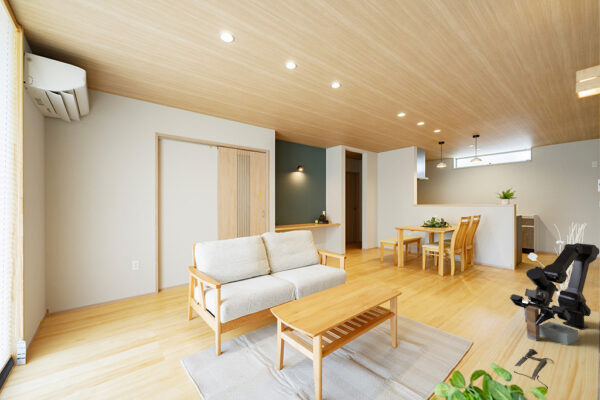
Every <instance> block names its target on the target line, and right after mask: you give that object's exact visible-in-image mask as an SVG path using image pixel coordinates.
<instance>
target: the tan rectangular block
mask: <svg viewBox="0 0 600 400" xmlns="http://www.w3.org/2000/svg"><path fill="white" fill-rule="evenodd" d="M539 314H540V309H539V308H536V307H532V306H528V307H526V319H527V322H526V333H527V334H526V335H527V336H526V337H527V338H528V339H531V340H533V341H535V342H537V341H539V340H541V335H540V327H539V325H540V324H539V325H538V326H536V325H535V322H536V320H537V318H538V316H539Z"/></svg>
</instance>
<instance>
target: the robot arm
mask: <svg viewBox="0 0 600 400" xmlns="http://www.w3.org/2000/svg"><path fill="white" fill-rule="evenodd" d="M599 255H600V249H599V247H597V246H596V245H595V244H589V243H580V242H575V243H574V244H573V243H565V244H564V246H563V249H562V251H560V253H559V255H558V256H557V257H556V259H555V260H554V261H553V262H552V263H550V264H547V265H545V266H544V267H543V268H542V267H541V266H535V267H534V268H533V267H532V268H530V269H528V270H527V271H526V277H527V278H528V279H529V281H531V282H532V284H534V286H535V289H531V288H526V289H525V292H524V296H525V297H527V299H525V298H524V296H523V295H518V294H515V293H514V294H511V295H510V297H509V299H510V300H511V301H512V303H513V304H514V306H515V307H519V308H522V309H523V310H524V319H525V323H527V319H526V307H528V306H532V307H536V308H539V316H538V318H537V320H536V322H535V325H536V326H538V325H542V324H544V322H546V321H549V320H551V319H553V320H554V319H555V315H556V316H557V318H558V319H559V320H562V321H563V322H562V325H563V324H564V325H565V326H566V325H567V326H570V327H571V328H572V327H573V328H574V329H579V330H584V329H586V328H589V325H588V324H585V323H586V322H585V317H590V315H591V314H592V310H591V308H590V307H589V306H588V305H587V304H586V303H587V300H586V297H585V296H584V294H583V293H584V288H585V283H586V280H587V277H588V276H587V275H588V271H589V267H590V264H591V263H593V262H594V261H595V260H597V258H598V256H599ZM572 263H573V264H572ZM571 265H572V269H571V272H570V275H569V281H568V284H567V287H566V288H565V289H564V290H563V289H561V290H559V289H558V287H557V285H556V284H561V285H562V284H564V283H565V282H566V280H567V278H568V274H567V271H568V269H569V268H570V266H571ZM555 292H559V295H558V298H557V303H558V305H555V304H553V305H551V303H553V302H554V300H553V297H554V296H555ZM550 305H551V307H550Z"/></svg>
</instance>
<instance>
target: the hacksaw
mask: <svg viewBox="0 0 600 400" xmlns="http://www.w3.org/2000/svg"><path fill="white" fill-rule="evenodd" d="M537 353H538V352H537V350H536V349H534V348H529V349H528V352H526V353H525V355H524V356H522V357H521V358H520V359H519V360H518V361H517V362H516V363H515V365H514V367H520V366H522V364H523V363H524V362H525V361H526V360H527V359H528V358H529V359H532V360H534V361H539V362H538V364H537V365H536V367H535V369H534V370H533V373H532V376H529V375H527V374H524V373H520V372H517V371H515V370H513V371H512V372H513V373H514V374H517V375H521V376H525V377H527V378H529V379H531V380H532V381H535V380H537V381H538V382H539V383H541V384H542V385H544V386H545V387H546V388H547V389H546V390H549V387H548V386H547V385H546V384H545V383H543V382H541V381H540V380H539V377H540V375H538V374H539V373H540V371H541V370H542V368H543V367H545V364H546V363H547V360H550V364H551V363H553V362H554V361H553V359H551V358H548V357H542V358H540V357H535V356H533V355H536V354H537ZM532 354H533V355H532ZM526 357H528V358H526ZM535 388H537V386H535Z"/></svg>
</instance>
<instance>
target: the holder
mask: <svg viewBox="0 0 600 400" xmlns="http://www.w3.org/2000/svg"><path fill="white" fill-rule="evenodd" d="M539 327H540V337H541V336H542V337H544V338H547V339H550V340H552V341H555V342H557V343H560V344H564V345H566V346H569V345H572V344H573V343H575V342H577V341H579V330H578V329H576V328H572V327H568V326H566V325H563V324H560V323H559V324H558V323H557V322H556V323H555V322H554V321H548V322H545V323H541V324H539Z"/></svg>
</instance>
